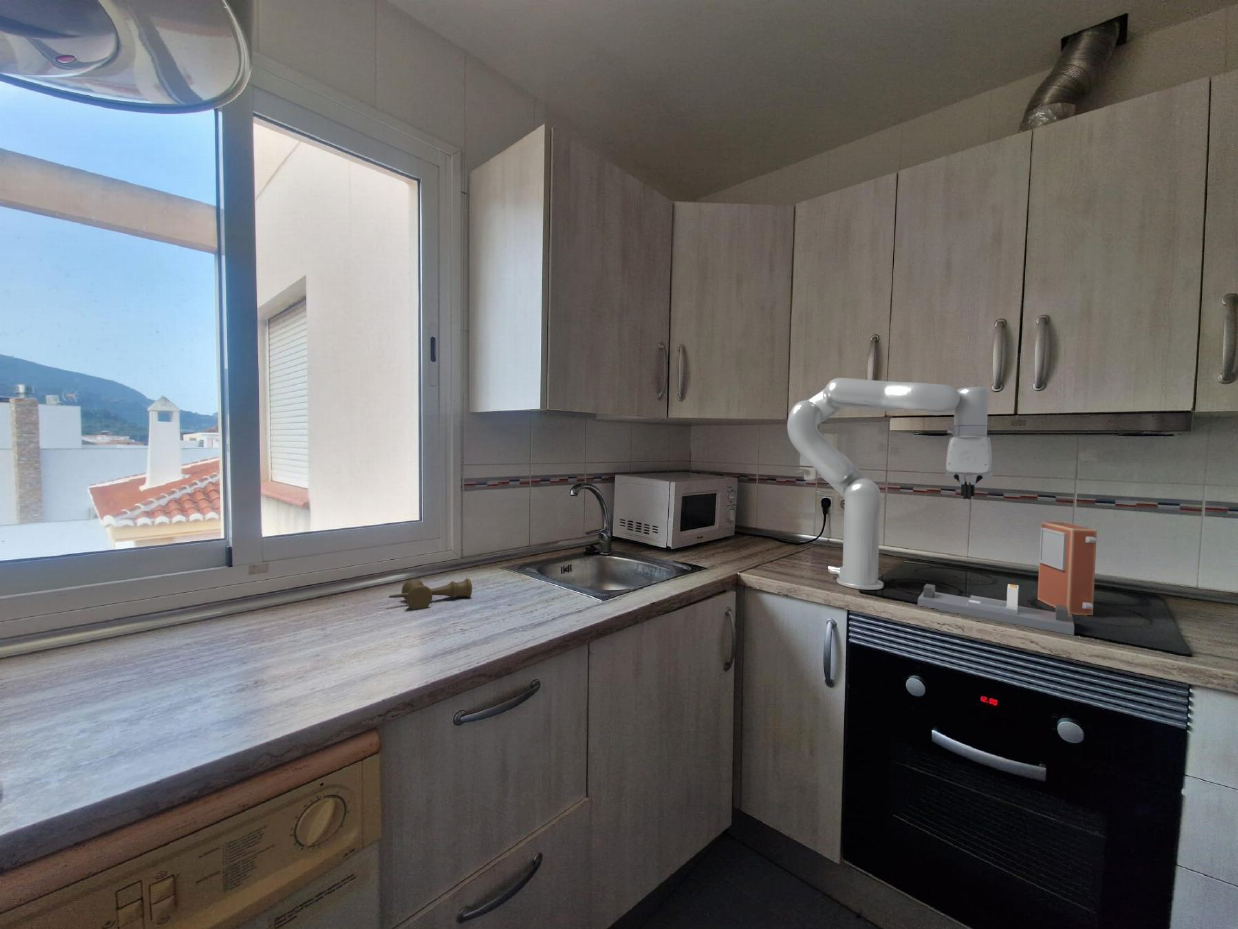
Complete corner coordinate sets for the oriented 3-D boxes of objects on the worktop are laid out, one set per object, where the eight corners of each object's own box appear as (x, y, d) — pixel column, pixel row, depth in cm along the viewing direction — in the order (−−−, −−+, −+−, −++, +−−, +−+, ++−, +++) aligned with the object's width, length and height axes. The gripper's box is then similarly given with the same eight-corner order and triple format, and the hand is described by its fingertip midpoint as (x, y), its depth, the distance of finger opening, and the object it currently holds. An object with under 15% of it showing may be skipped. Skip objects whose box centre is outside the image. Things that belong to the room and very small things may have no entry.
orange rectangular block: (1059, 599, 137) (1100, 618, 122) (1030, 598, 138) (1067, 615, 124) (1063, 521, 136) (1104, 530, 122) (1033, 520, 138) (1071, 529, 123)
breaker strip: (917, 606, 130) (918, 588, 130) (924, 597, 137) (924, 581, 137) (1073, 635, 111) (1074, 615, 110) (1071, 623, 118) (1072, 604, 118)
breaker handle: (1006, 610, 120) (1007, 586, 120) (1007, 605, 124) (1008, 583, 123) (1017, 611, 119) (1018, 588, 119) (1017, 607, 122) (1018, 584, 122)
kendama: (475, 603, 129) (391, 614, 118) (465, 594, 137) (385, 604, 126) (476, 580, 129) (392, 589, 118) (465, 573, 137) (385, 580, 126)
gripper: (936, 432, 140) (933, 497, 141) (1003, 431, 131) (1000, 502, 131) (940, 433, 146) (937, 495, 147) (1004, 432, 136) (1001, 499, 137)
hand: (967, 498), depth 139 cm, fingers closed
